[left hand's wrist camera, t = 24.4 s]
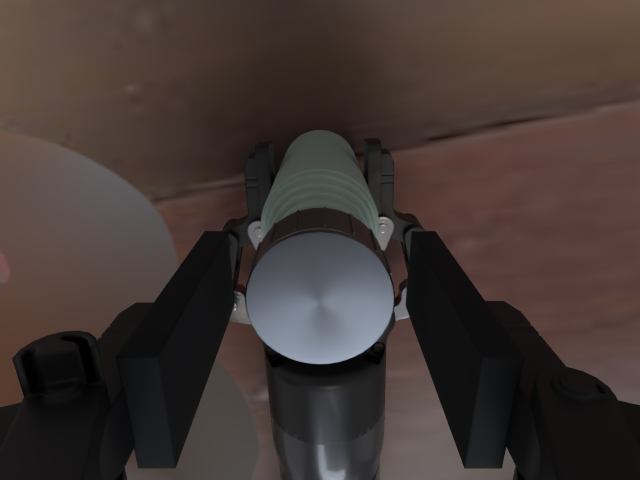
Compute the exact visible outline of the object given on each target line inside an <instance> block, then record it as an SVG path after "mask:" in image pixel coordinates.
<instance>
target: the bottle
mask: <svg viewBox="0 0 640 480" xmlns="http://www.w3.org/2000/svg"><path fill="white" fill-rule="evenodd" d="M323 207H326V208H330V209H335V210H339V211H342V212H345V213H347V214H350V213H351V214H352V216H354V217H355V218H357V219H358V220H360V221H361V222H362V223H364V224H365V225H366V226H367V227H368V228H369V229H372V230H373V233H374V236H375V237H376V239H377V240H378V232H379V217H378V212H377V208H376V205H375V203H374V200H373V198H372V196H371V193H370V191H369V188H368V186H367V183H366V181H365V179H364V176H363V174H362V171H361V169H360V166H359V164H358V162H357V159H356V157H355V154H354V152H353V150H352V148H351V146H350V145H349V144H348V142H347V141H346V140H345V139H344V138H342V137H341V136H340V135H338V134H336V133H334V132H331V131H327V130H313V131H309V132H306V133H304V134H302V135H300V136H299V137H298V138H296V139H295V140H294V141H293V142H292V143H291V145H290V146H289V148H288V150H287V152H286V154H285V157H284V159H283V161H282V164H281V166H280V169H279V171H278V173H277V176H276V178H275V181H274V183H273V186H272V188H271V190H270V193H269V195H268V198H267V200H266V203H265V205H264V208H263V211H262V216H261V233H262V240H263V238H264V237H265V235H266V234H267V232H268V231H269V230H270V229H271V228H272V227H273V224H274V223H275V222H276V223H277V222H279V221H280V220H281V219H283V218H285V217H286V216H288V215H290V214H292V213H295V212H296V211H297V210H299V211H301V210H305V209H310V208H323Z"/></svg>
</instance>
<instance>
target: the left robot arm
mask: <svg viewBox="0 0 640 480" xmlns="http://www.w3.org/2000/svg"><path fill="white" fill-rule="evenodd" d="M234 306H235V305H234V293H233V281H232V269H231V256H230V244H229V232H228V231H205V232H204V233H203V235H202V236H201V237H200V239H199V240H198V242H197V243H196V244H195V246H194V247H193V249H192V250H191V251H190V253H189V254H188V256H187V257H186V258H185V260H184V261H183V263H182V264H181V265H180V267H179V268H178V270H177V271H176V272H175V274H174V275H173V277H172V278H171V279H170V281H169V282H168V284H167V285H166V286H165V288H164V289H163V291H162V292H161V293H160V295H159V296H158V298H157V299H156V300H155V302H154V303H135V304H133V305H132V306H130V307H129V308H127V309H125V310H124V311H122V312H121V313H119V315H118V316H117V317H116V318H115V320H114V321H113V322H112V323H111V324H110V327H108V328H107V329H106V330H105V332H104V333H103V334H102V337H101V338H99V339H98V340H96V338H95V337H94V336H93V335H92V334H90V333H87V332H82V331H65V332H60V333H56V334H52V335H48V336H45V337H43V338H40V339H38V340H35V341H33V342H31V343H30V344H28V345H27V346H25V347H24V348H22V349H20V350H19V352H18V353H17V354H16V355H15V356H14V357H13V358H12V359H13V363H14V366H15V369H16V372H17V375H18V379H19V382H20V385H21V388H22V392H23V395H24V399H23V401H22V402H21V403H17V404H14V405H9V406H4V407H0V480H127V476H126V472H125V465H126V463H127V461H128V459H129V457H130V455H131V453H132V451H133V449H134V450H135V455H136V460H137V464H138V468H176V465H177V463H178V460H179V457H180V454H181V452H182V449H183V446H184V443H185V441H186V438H187V435H188V432H189V429H190V427H191V424H192V421H193V419H194V416H195V413H196V410H197V407H198V405H199V402H200V399H201V396H202V394H203V391H204V388H205V386H206V383H207V380H208V377H209V374H210V372H211V369H212V366H213V364H214V361H215V358H216V355H217V352H218V350H219V347H220V344H221V341H222V339H223V336H224V333H225V330H226V328H227V325H228V322H229V319H230V317H231V314H232V311H233V308H234ZM405 306H406V308H407V311H408V314H409V317H410V319H411V322H412V325H413V328H414V330H415V333H416V336H417V339H418V341H419V344H420V347H421V350H422V353H423V355H424V358H425V361H426V364H427V366H428V369H429V372H430V375H431V377H432V380H433V383H434V386H435V388H436V391H437V394H438V397H439V399H440V402H441V405H442V408H443V410H444V413H445V416H446V419H447V421H448V424H449V427H450V430H451V432H452V435H453V438H454V441H455V443H456V446H457V449H458V452H459V454H460V457H461V460H462V463H463V465H464V468H502V464H503V460H504V455H505V450H506V447H507V449H508V451H509V453H510V455H511V457H512V459H513V461H514V463H515V465H516V467H515V471H514V476H513V480H640V405H636V404H631V403H626V402H622V401H619V400H617V398H616V396H615V395H614V393H613V392H612V391H611V389H610V388H609V387H608V386H607V385H606V384H604V383H603V382H601V381H600V380H599V379H597V378H596V377H594V376H592V375H589V374H587V373H585V372H583V371H580V370H576V369H573V368H569V367H566V366H565V365H564V363H563V362H562V361H561V360H560V359H559V357H558V356H557V355H556V354H555V353H554V351H553V350H552V349H551V348H550V347H549V345H548V344H547V343H546V342H545V341H544V339H543V338H542V337H541V336H539V333H538V332H537V331H536V330H535V329H534V327H533V326H530V322H529V321H528V320H527V319H526V318H525V316H524V315H523V314H522V313H521V312H520V311H519V310H517V309H516V308H514V307H512V306H511V305H509V304H508V303H506V302H504V301H485V300H484V299H483V298H482V296H481V295H480V293H479V292H478V291H477V289H476V288H475V286H474V285H473V284H472V282H471V281H470V279H469V278H468V277H467V275H466V274H465V272H464V271H463V270H462V268H461V267H460V265H459V264H458V263H457V261H456V260H455V258H454V257H453V256H452V254H451V253H450V251H449V250H448V249H447V247H446V246H445V244H444V243H443V242H442V240H441V239H440V237H439V236H438V235H437V233H436V232H435V231H412V232H411V244H410V256H409V269H408V281H407V293H406V305H405Z"/></svg>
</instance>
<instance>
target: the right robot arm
mask: <svg viewBox="0 0 640 480" xmlns="http://www.w3.org/2000/svg"><path fill="white" fill-rule="evenodd" d="M244 174H245V184H246V194H247V204H248V215H247V216H245V217H243V218H240V219H231V220H229V221H228V222H227V223H226V224H225V226H224V228H223V231H228V232H229V244H230V256H231V269H232V281H233V293H234V305H235V306H234V308H233V311H232V314H231V317H230V319H229V321H232V322H238V323H244V324H250V325H252V324H251V322H250V320H249V318H248V314H247V311H246V304H245V289H246V288H245V287H244V286H243V285H242V284H237V283H238V276H239V269H240V262H241V255H242V249H243V247H244V246H246V245H249V244H251V243H253V245H254V247H255V249H256V250H257V247H258V244H259V242H262V233H261V216H262V211H263V208H264V205H265V203H266V200H267V198H268V195H269V193H270V190H271V188H272V186H273V183H274V181H275V164H274V151H273V143H272V142H259V143H258V144H257V145H256V147H255V153H251V154H250V155H249V156H248V158H247V160H246V163H245V166H244ZM364 179H365V181H366V183H367V186H368V188H369V191H370V193H371V196H372V198H373V200H374V203H375V205H376V208H377V212H378V217H379V232H378V242H379V245H380V247H381V250H384V252H385V249H386V247H387V244H388V242H389V240H390V239H393V240H397V241H400V242H401V245H402V249H403V254H404V258H405V263H406V267H407V272H408V269H409V256H410V244H411V232H412V231H425V230H424V229H423V227H422V226H421V224H420V223H419V221H418V220H417V218H416V217H415V216H414V215H413V214H403V213H400V212H397V211H395V210H393V185H394V183H393V181H394V162H393V159H392V156H391V154H390V153H389V151H388V150H387V149H382V148H381V142H380V141H379V139H378V138H366V139H364ZM407 281H408V279H404V280H403V281H402V282H401V283H400V285H399V293H398V295H397V297H396V298H395V303H394V310H393V314H392V317H391V320H390V322H389V324H388V326H387V328H386V330H385V331H384V333H383V334H382V335H381V337H380V338H379V339H378V340H377V341H376V342H375V343H374V344H373V345H372V346H371V347H369V348H368V349H367V350H365V351H364V352H362V353H360V354H359V355H357V356H355V357H352V358H350V359H347V360H344V361H340V362H336V363H330V364H310V363H304V362H299V361H296V360H292V359H290V358H288V357H285V356H283V355H281V354H279V353H278V352H276V351H275V350H273V349H272V348H270V347H269V346H268V345H267V344H266V343H265V342H264V341H263V340H262V341H263V344H264V351H265V361H266V371H267V381H268V391H269V402H270V412H271V422H272V432H273V440H274V444H275V449H276V452H277V456H278V459H279V466H280V477H281V480H379V471H380V454H381V449H382V444H383V438H384V414H385V371H386V341H387V337H388V335H389V333H390V331H391V330H392V329H393V327H394V325H395V321H396V320H401V319H405V318H409V314H408V311H407V308H406V306H405V305H406V293H407Z"/></svg>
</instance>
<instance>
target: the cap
mask: <svg viewBox="0 0 640 480" xmlns="http://www.w3.org/2000/svg"><path fill="white" fill-rule="evenodd" d="M251 266H252V270H251V272H250V275H249V278H248V282H247V285H246V289H245V304H246V311H247V314H248V318H249V320H250V322H251V324H252V327H253V328H254V330H255V331H256V333H257V334H258V336H259V337H260V338H261V339H262V340H263V341H264V342H265V343H266V344H267V345H268V346H269V347H270V348H272V349H273V350H275V351H276V352H278V353H279V354H281V355H283V356H285V357H288V358H290V359H292V360H296V361H299V362H304V363H310V364H330V363H336V362H340V361H344V360H347V359H350V358H352V357H355V356H357V355H359V354H360V353H362V352H364V351H365V350H367V349H368V348H369V347H371V346H372V345H373V344H374V343H375V342H376V341H377V340H378V339H379V338H380V337H381V335H382V334H383V333H384V331H385V330H386V328H387V326H388V324H389V322H390V320H391V317H392V314H393V310H394V303H395V293H394V286H393V282H392V279H391V276H390V275H392V272H391V269H390V267H389V264H388V261H387V258H386V255H385V252H384V250H381V247H380V245H379V242H378V240H377V239H376V237H375V236H374V233H373V230H372V229H369V228H368V227H367V226H366V225H365V224H364V223H362V222H361V221H360V220H358V219H357V218H355V217H354V216H352V214H351V213H350V214H347V213H345V212H342V211H339V210H335V209H330V208H326V207H323V208H310V209H305V210H301V211H299V210H297V211H296V212H295V213H292V214H290V215H288V216H286V217H285V218H283V219H281V220H280V221H279V222H277V223H276V222H275V223H274V224H273V227H272V228H271V229H270V230H269V231H268V232H267V234H266V235H265V237H264V238H263V240H262V242H259V244H258V247H257V250H256V253H255V255H254V258H253V261H252V264H251Z"/></svg>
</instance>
